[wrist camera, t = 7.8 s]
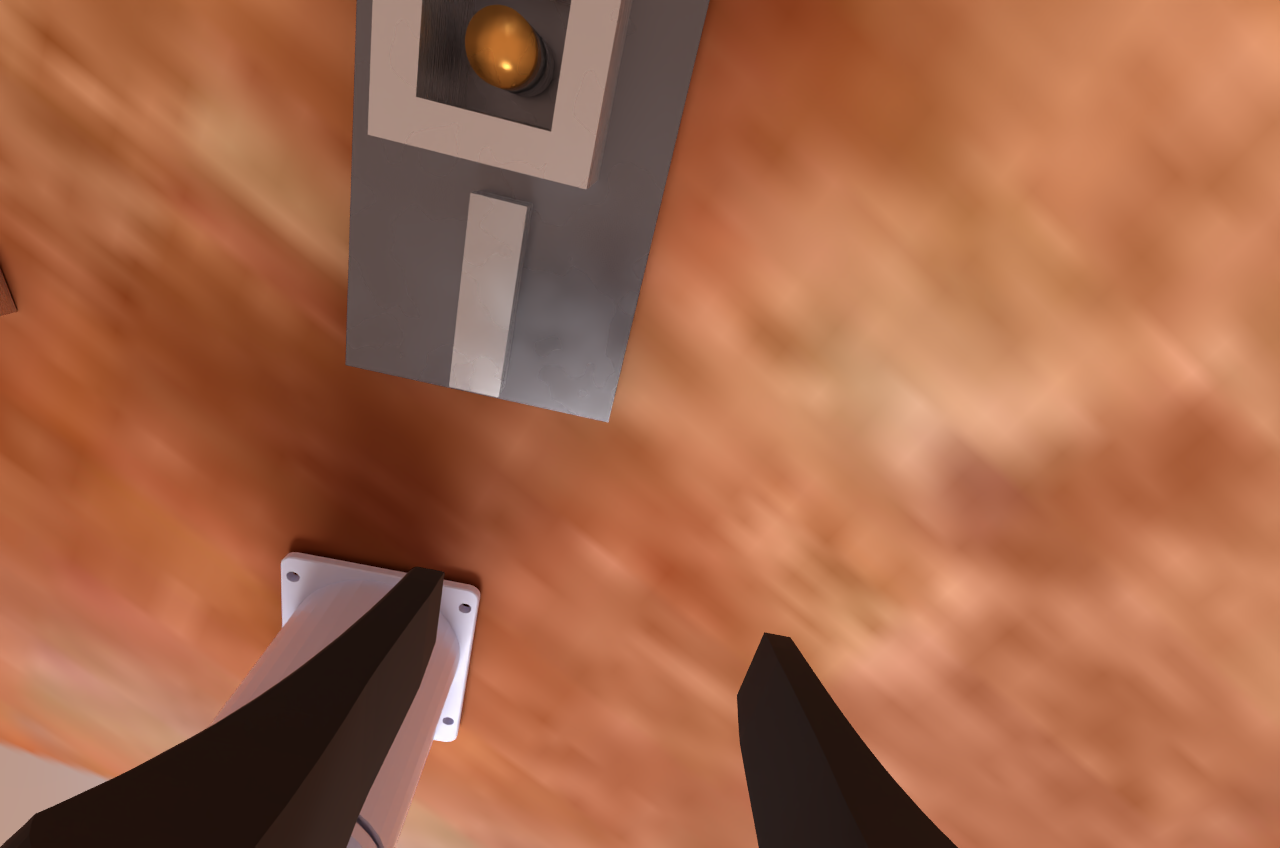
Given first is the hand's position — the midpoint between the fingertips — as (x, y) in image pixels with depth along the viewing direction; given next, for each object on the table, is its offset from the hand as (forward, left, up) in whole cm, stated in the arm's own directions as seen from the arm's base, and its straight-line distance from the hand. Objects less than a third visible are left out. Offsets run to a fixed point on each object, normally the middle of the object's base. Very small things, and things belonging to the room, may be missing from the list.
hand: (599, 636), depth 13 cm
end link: (+11, +5, -9) cm, 15 cm away
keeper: (+8, +5, -10) cm, 14 cm away
